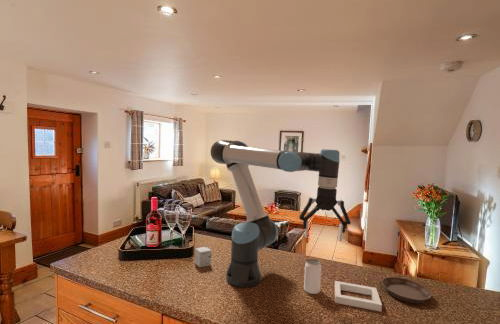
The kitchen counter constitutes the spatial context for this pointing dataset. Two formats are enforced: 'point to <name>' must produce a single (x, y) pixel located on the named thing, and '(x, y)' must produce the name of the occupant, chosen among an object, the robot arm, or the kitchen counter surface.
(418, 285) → the plant saucer
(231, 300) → the kitchen counter surface
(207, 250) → the skincare box
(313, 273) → the can
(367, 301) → the socket collar
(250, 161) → the robot arm
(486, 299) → the kitchen counter surface
